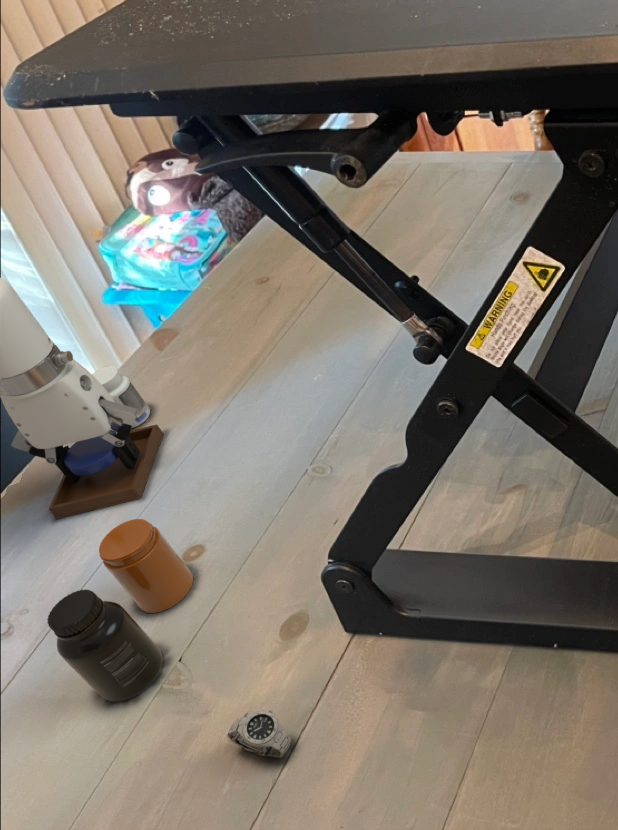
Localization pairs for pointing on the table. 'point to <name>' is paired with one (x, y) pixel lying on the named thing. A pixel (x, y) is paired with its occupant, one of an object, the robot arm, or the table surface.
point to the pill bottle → (122, 392)
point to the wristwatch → (260, 734)
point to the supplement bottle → (104, 645)
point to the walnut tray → (109, 480)
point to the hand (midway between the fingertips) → (106, 467)
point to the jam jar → (145, 565)
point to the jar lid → (90, 456)
